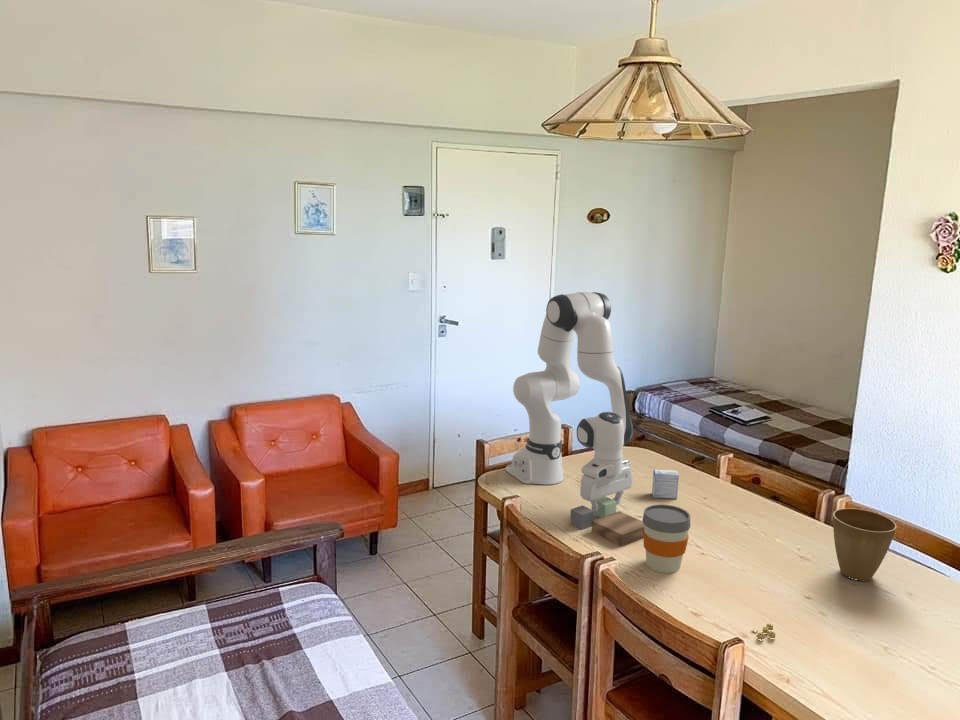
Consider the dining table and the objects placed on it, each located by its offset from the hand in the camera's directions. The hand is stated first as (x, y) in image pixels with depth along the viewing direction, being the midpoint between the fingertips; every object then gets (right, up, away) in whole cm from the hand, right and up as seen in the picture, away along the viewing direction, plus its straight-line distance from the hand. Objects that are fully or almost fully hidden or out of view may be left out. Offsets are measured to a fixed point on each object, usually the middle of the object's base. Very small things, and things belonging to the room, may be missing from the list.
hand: (606, 507), depth 231 cm
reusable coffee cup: (+10, -10, -30) cm, 34 cm away
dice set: (+26, -18, -62) cm, 70 cm away
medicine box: (+22, 0, +17) cm, 28 cm away
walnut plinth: (+2, -6, -12) cm, 14 cm away
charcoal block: (-8, -4, -6) cm, 12 cm away
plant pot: (+61, -11, -34) cm, 71 cm away
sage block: (0, -3, +1) cm, 3 cm away
